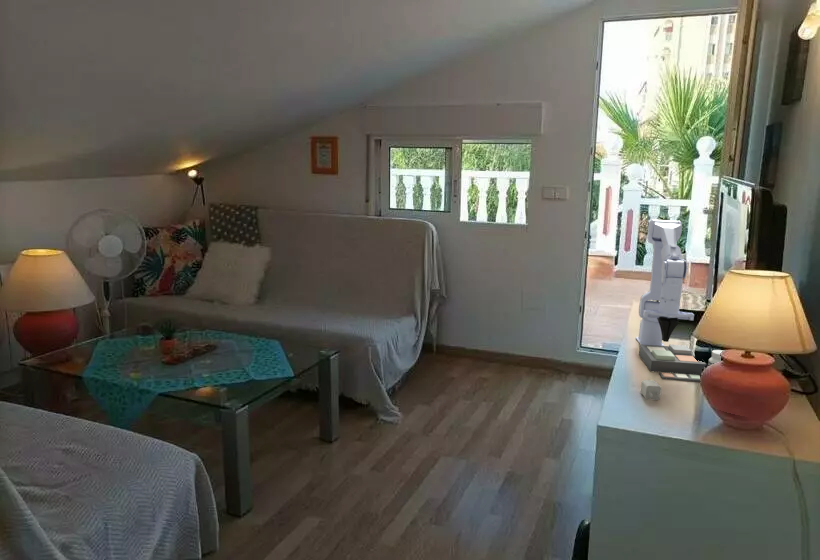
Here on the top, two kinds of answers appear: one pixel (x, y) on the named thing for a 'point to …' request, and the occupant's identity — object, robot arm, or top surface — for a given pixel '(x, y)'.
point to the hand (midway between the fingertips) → (665, 340)
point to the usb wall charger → (650, 389)
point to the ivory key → (655, 348)
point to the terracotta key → (686, 358)
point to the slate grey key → (679, 349)
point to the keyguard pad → (669, 362)
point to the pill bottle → (715, 357)
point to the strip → (680, 377)
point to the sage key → (663, 355)
